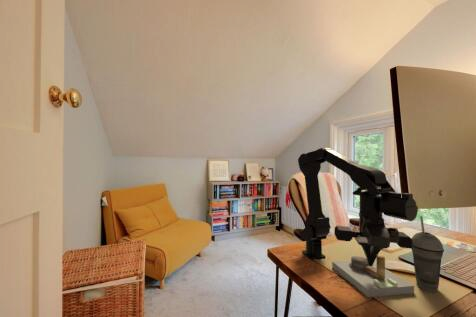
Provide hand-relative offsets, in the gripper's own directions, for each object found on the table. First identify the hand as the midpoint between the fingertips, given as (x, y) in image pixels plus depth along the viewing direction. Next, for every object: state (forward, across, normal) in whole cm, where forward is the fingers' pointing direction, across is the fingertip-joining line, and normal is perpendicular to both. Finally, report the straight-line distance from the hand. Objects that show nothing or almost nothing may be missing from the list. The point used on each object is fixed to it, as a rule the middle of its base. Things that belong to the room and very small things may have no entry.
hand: (370, 265), depth 61 cm
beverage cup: (+6, +15, +4) cm, 17 cm away
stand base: (+6, +1, +4) cm, 7 cm away
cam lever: (+3, 0, +4) cm, 5 cm away
